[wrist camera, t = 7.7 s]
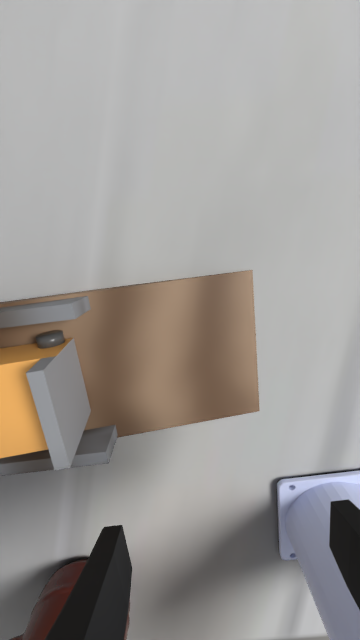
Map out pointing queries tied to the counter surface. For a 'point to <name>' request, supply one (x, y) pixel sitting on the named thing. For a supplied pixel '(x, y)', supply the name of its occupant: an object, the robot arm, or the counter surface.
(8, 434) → the orange block with knobs
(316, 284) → the counter surface
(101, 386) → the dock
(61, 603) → the mug
